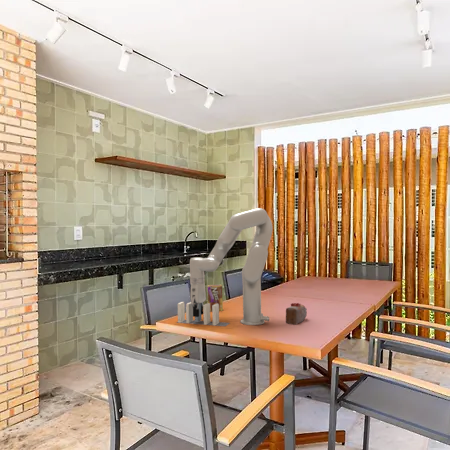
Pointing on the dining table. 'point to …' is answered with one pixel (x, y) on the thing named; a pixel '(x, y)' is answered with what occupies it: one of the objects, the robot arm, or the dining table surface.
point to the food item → (295, 313)
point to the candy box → (215, 296)
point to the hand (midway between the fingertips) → (198, 315)
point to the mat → (207, 324)
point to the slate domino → (199, 313)
